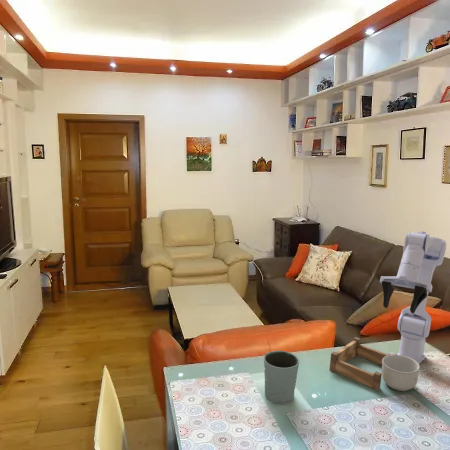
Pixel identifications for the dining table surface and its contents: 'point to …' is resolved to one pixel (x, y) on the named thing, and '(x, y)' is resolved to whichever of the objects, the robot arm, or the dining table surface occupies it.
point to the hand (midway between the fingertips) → (398, 309)
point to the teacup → (400, 371)
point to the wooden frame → (356, 373)
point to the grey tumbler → (280, 376)
